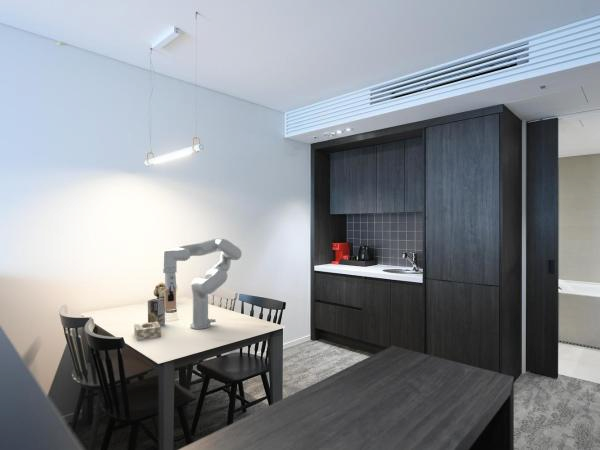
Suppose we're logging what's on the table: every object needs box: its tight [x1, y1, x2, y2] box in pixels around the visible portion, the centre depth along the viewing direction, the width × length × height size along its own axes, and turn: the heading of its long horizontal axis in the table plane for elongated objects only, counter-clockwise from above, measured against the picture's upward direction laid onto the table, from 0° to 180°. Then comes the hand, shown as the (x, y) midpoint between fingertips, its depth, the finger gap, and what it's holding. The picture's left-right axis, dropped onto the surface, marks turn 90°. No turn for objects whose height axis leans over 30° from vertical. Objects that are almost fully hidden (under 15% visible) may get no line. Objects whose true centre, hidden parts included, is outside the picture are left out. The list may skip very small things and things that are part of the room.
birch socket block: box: [133, 322, 162, 341], centre depth 217 cm, size 13×13×6 cm
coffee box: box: [147, 298, 166, 327], centre depth 238 cm, size 9×6×16 cm
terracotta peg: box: [164, 288, 177, 311], centre depth 219 cm, size 6×4×12 cm
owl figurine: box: [153, 282, 167, 300], centre depth 298 cm, size 18×12×17 cm, turn 45°
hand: (170, 300), depth 219 cm, fingers closed on terracotta peg, 4 cm apart
